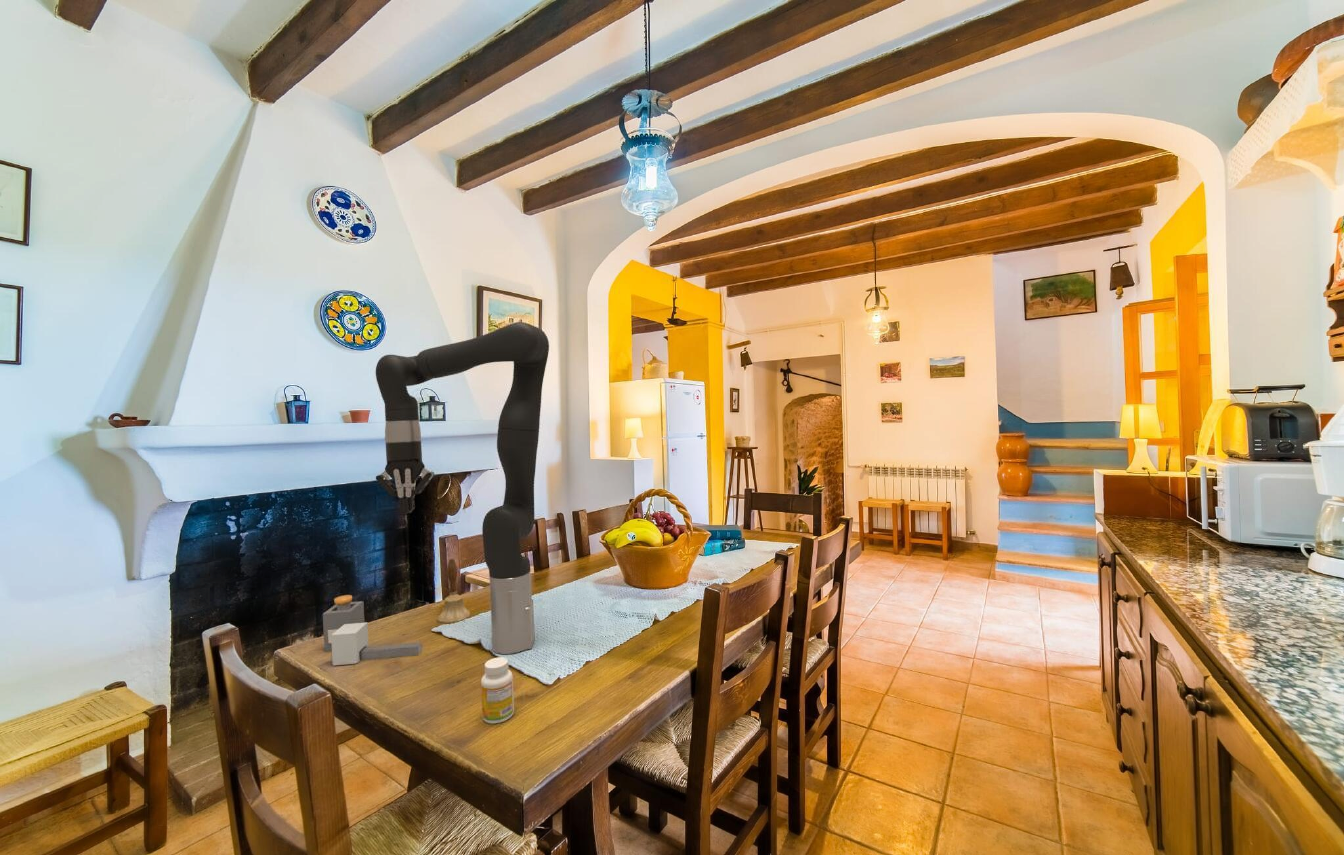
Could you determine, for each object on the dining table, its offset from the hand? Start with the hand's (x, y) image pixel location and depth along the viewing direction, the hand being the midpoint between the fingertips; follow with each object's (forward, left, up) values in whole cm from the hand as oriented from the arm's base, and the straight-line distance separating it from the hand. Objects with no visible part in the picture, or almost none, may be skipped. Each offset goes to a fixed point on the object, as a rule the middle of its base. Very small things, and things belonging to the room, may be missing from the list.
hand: (407, 512), depth 123 cm
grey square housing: (+17, -4, -32) cm, 36 cm away
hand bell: (-5, -16, -32) cm, 36 cm away
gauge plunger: (+17, -4, -25) cm, 31 cm away
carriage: (+12, +5, -32) cm, 34 cm away
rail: (+6, +5, -32) cm, 33 cm away
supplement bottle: (-26, +35, -32) cm, 54 cm away
